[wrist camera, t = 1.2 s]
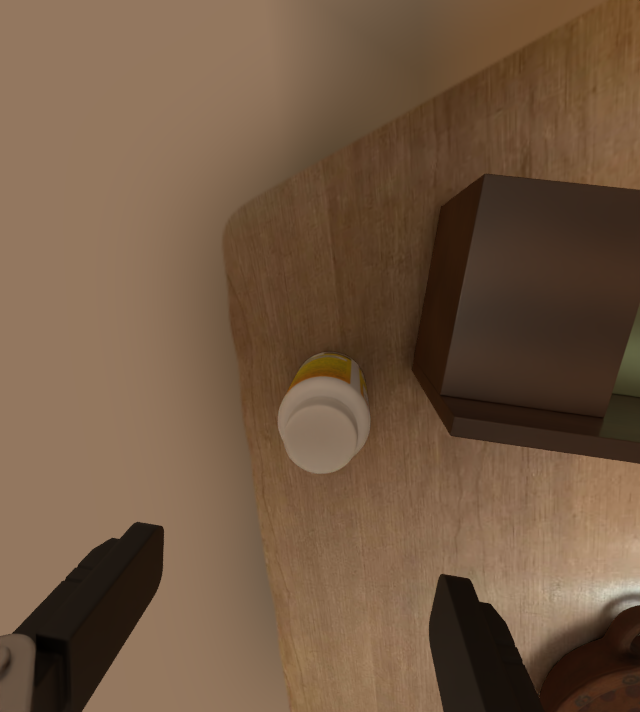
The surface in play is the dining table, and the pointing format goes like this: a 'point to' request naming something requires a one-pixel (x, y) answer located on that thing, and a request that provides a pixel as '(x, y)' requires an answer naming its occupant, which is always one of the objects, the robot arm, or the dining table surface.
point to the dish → (599, 672)
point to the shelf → (536, 317)
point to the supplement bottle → (325, 413)
